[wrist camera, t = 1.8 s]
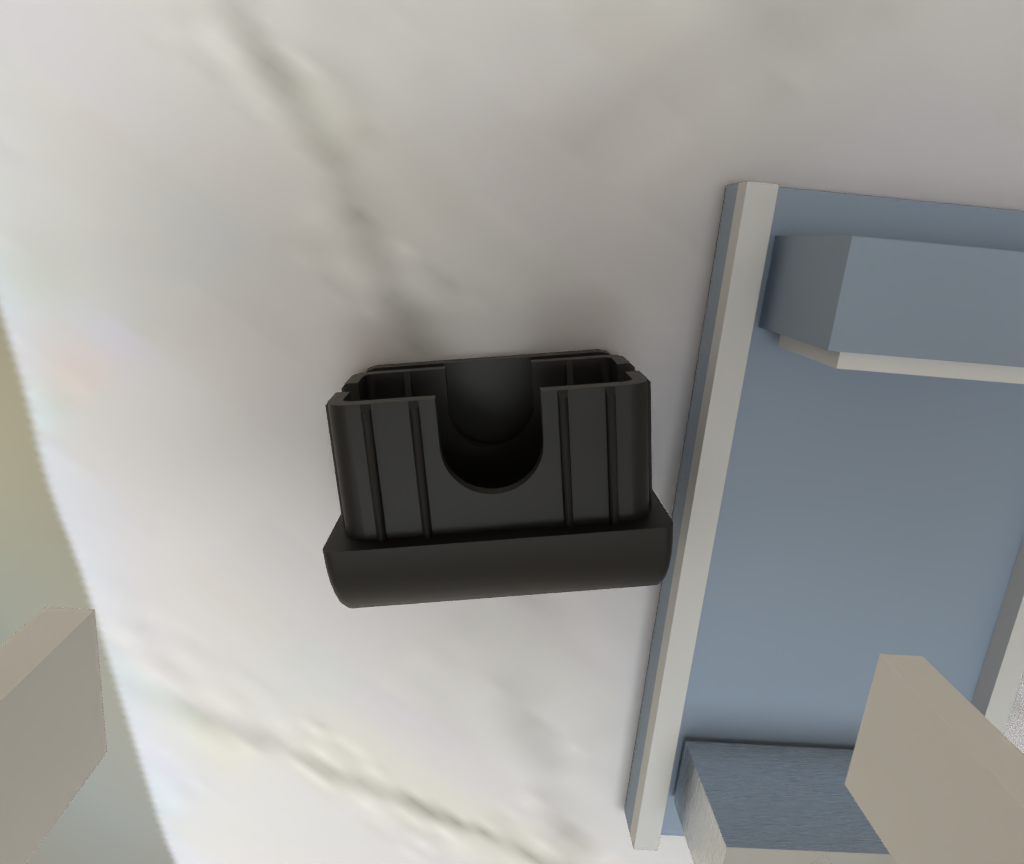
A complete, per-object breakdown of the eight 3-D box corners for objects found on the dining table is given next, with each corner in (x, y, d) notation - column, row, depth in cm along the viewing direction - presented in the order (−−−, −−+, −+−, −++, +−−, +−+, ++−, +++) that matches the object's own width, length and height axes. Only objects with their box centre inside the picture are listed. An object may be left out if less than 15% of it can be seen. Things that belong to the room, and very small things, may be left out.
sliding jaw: (949, 754, 28) (1044, 861, 23) (916, 861, 30) (998, 981, 25) (685, 740, 28) (726, 847, 23) (664, 850, 29) (699, 972, 24)
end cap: (372, 547, 27) (335, 649, 20) (348, 366, 25) (298, 414, 18) (630, 528, 27) (676, 622, 20) (626, 346, 25) (675, 386, 18)
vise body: (1119, 224, 24) (1325, 220, 18) (931, 824, 31) (1036, 964, 25) (726, 185, 23) (807, 168, 17) (624, 810, 30) (657, 951, 24)
